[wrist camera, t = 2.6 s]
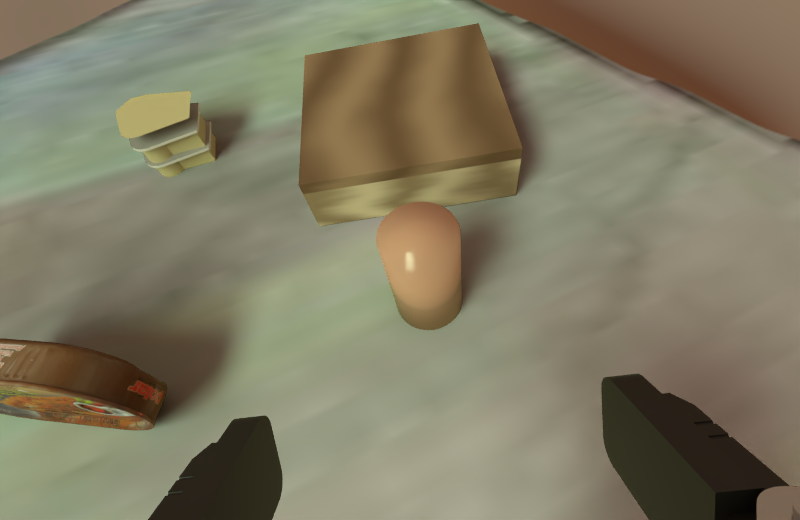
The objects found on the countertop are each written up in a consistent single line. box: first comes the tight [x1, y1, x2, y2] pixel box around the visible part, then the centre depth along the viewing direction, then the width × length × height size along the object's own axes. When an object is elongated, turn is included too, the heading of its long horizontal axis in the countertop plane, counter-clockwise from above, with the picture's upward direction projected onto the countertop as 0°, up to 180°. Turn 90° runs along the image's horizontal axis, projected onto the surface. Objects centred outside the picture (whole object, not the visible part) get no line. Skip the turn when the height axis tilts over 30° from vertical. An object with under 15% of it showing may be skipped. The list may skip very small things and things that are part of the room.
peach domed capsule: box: [376, 202, 462, 330], centre depth 26 cm, size 5×5×8 cm
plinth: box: [299, 23, 523, 226], centre depth 36 cm, size 16×16×5 cm
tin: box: [0, 339, 167, 430], centre depth 26 cm, size 15×3×8 cm, turn 83°
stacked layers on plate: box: [116, 91, 216, 177], centre depth 39 cm, size 10×9×6 cm
